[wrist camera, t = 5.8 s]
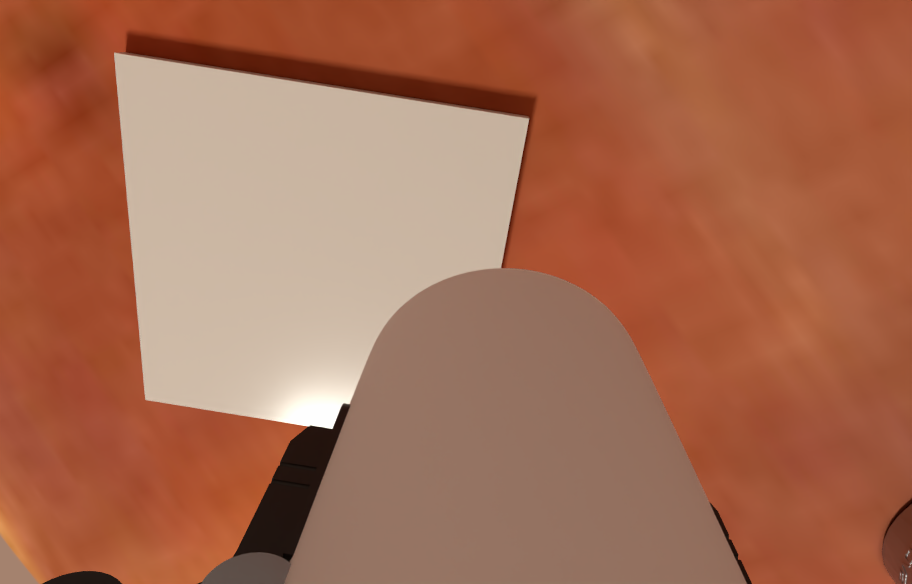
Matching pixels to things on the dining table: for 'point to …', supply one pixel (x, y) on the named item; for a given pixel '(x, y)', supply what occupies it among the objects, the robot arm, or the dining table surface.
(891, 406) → the dining table surface
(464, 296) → the can
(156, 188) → the tile mat
